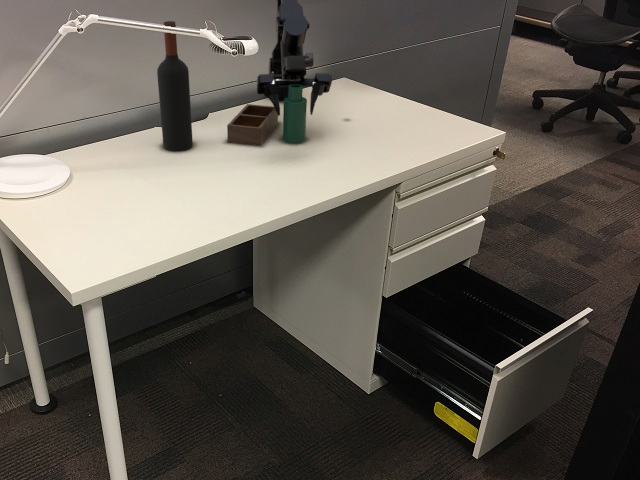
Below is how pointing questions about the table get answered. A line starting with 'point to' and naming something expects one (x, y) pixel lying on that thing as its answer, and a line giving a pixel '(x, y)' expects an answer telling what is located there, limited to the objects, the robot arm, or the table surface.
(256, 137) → the carrier
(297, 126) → the bottle
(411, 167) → the table surface
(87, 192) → the table surface
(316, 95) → the robot arm
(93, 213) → the table surface
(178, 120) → the wine bottle
